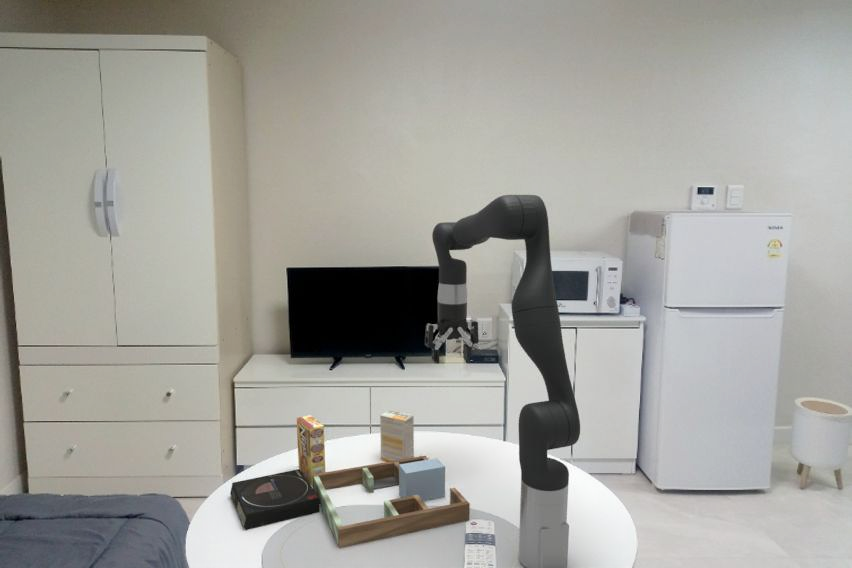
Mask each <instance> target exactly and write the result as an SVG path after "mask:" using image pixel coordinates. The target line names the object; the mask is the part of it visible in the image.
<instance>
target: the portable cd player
mask: <svg viewBox="0 0 852 568" xmlns="http://www.w3.org/2000/svg"><path fill="white" fill-rule="evenodd" d="M229 493H230V497H231V499H232V501H233V504H234V506H235V508H236V512H237V514H238V516H239V518H240V521H241V523H242V525H243V528H244V529H245V530H246V531H247V530H253V529H256V528H259V527H265V526H268V525H272V524H277V523H281V522H285V521H289V520H294V519H298V518H302V517H305V516H310V515H314V514H318V513H320V511H321V509H320V508H321V506H320V502H319V497H318V495H317V494H316V492H315V491H314V489H313V486H311V485H310V484H309V482H308V481H307V479H306V478H305V476H304V475H303V473H302V472H301V471H300V469H299V468H298V469H293V470H287V471H283V472H279V473H274V474H269V475H264V476H261V477H260V476H258V477H254V478H249V479H245V480H244V479H243V480H240V481H234V482H232V483H231V489H230V492H229Z"/></svg>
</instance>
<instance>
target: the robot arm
mask: <svg viewBox="0 0 852 568" xmlns="http://www.w3.org/2000/svg"><path fill="white" fill-rule="evenodd" d="M431 235H432V242H433V247H434V249H435V253H436V257H437V258H436V259H437V263H438V289H437V299H436V300H437V322H436V323H435V324H434V323H433V324H432V323H429V322H427V323H426V325H425V330H424V331H425V334H424V346H426V347H427V348H429V349H431V360H432V361H433V363H435V364H438V365H439V364H440V348H441V346H442V345H443V344H445V342H446V340H449V341H451V340H459V339H460V340H461V341H462V342H463V343H464V344H463V355H462V357H463V360H464V361H470V359H471V357H472V346H473V345H475V344H478V343H479V322H478V321H476V320H474V319H470V320H467V318H468V287H467V272H468V271H467V270H468V269H467V268H468V267H467V263H466V261H464V260H462V259H458V258H453V257H452V255H451V252H450V251H464V250H470V249H472V248H473V247H474V246H477V245H481V244H483V243H486V242H487V241H488V240H489V239H490V238H491V239H492V238H493V239H501V240H507V241H519V240H521V241H522V240H524V244H525V255H526V256H525V258H526V259H525V264H524V265H525V266H524V268H523V272H522V274H521V278H520V279H519V281H518V284H517V287H516V289H515V291H514V294H513V296H512V301H511V313H512V314H511V315H512V321H513V322H512V323H513V329H514V334H515V337H516V339H517V342H518V344H519V346H520V347H521V348H522V350H523V351H524V352H525V354H526V355H527V357H529V359H530V360H531V361H532V363H533V364H534V365H535V366H536V368H537V369H538V371H539V372H540V375H541V376H542V378H543V382H544V384H545V388H546V392H547V398H548V400H544V401H537V402H530V403H527V404H525V405H523V406H522V407H521V410H520V413H519V417H518V459H519V466H520V476H521V477H520V481H521V482H520V498H519V499H520V504H519V527H518V528H519V532H518V533H519V535H518V561H519V563H520V564H521V565H522V566H523V567H525V568H568V557H569V535H570V525H569V523H568V522H567V521H568V499H569V498H568V497H569V484H570V483H569V480H570V479H569V477H570V473H569V469H568V466H566V464H564V463H563V462H561V461H559V460H557V459H555V458H552V457H549V456H548V451H549V450H556V449H560V448H561V449H562V448H566V447H570V446H574V445H575V444H577V443H578V441H579V438H580V435H581V421H580V414H579V410H578V405H577V402H576V398H575V394H574V390H573V385H572V382H571V378H570V374H569V373H570V372H569V369H568V364H567V359H566V352H565V347H564V342H563V341H564V340H563V332H562V324H561V318H560V312H559V306H558V301H557V296H556V295H557V294H556V288H555V283H554V276H553V275H554V274H553V267H552V257H551V247H550V246H551V244H550V243H551V242H550V228H549V217H548V211H547V207H546V204H545V202H544V200H543V199H542V198H541V197H540V196H539V195H535V194H505V195H501V196H498V197H496V198H495V199H493V200H491V201H490V202H489V203H487V205H485V207H483V208H481V209H480V210H479V211H477V213H474V214H471V215H468V216H464V217H461V219H459V220H457V221H456V222H455V221H451V222H438V223H437V224H436V225H435V226H434V228H433V231H432V234H431ZM467 328H468V329H469V332H470V333H469V335H470V336H468V334H467V333H466V330H467ZM436 330H437V331H438V333H437V334H436V335H435V337H434V333H435V332H436ZM469 337H470V338H469Z"/></svg>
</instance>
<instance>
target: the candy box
mask: <svg viewBox="0 0 852 568" xmlns="http://www.w3.org/2000/svg"><path fill="white" fill-rule="evenodd" d="M296 431H297V432H296V433H297V434H296V435H297V457H298V469H300V471H301V472H302V473H303V475H304V476H305V478H306V479H307V481H308V482H309V484H310V485H311V486H312V487H313V474H319V473H325V472H326V453H325V452H326V450H325V425H324V424H323V423H321V422H319V421H318V420H317V419H316V418H315V417H314V416H313V415H309V414H308V415H306V416H305V415H304V416H301V417H297V418H296Z"/></svg>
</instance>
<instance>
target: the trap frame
mask: <svg viewBox="0 0 852 568" xmlns="http://www.w3.org/2000/svg"><path fill="white" fill-rule="evenodd" d="M429 459H430V458H428V457H427V455H421V456H414V458H408V459H402V460H396V461H390V462H388V461H384V462H379V463H373V464H367V465H362V466H355V467H349V468H343V469H338V470H332V471H327V472H326V471H325V473H319V474H313V486H312V488H313V489H314V491H315V492H316V494H317V495H318V497H319V502H320V508H321V509H320V510H322V513H323V515H324V516H325V520H326V521H327V524H328V526H329V529H330V530H331V533H332V534H333V536H334V539H335V541H336V543H337V546H338V548H339V549H340V548H344V547H345V548H346V547H349V546H353V545H359V544H364V543H368V542H373V541H378V540H382V539H383V540H384V539H386V538H387V539H388V538H390V537H397V536H401V535H405V534H410V533H415V532H419V531H424V530H428V529H433V528H438V527H443V526H447V525H451V524H456V523H462V522H467V521H469V520H470V510H471V508H470V507H471V505H470V502H469V501H468V500H467V499H466V498H465V496H463V495H462V493H461V492H459V490H458V489H457V488H456V487H451V488H450V489H449V490H450V491H449V504H445V505H440V506H435V507H431V508H429V507H428V506H427V504H426V503H425V501H424V502H423V500H422V499H421V498H420V497H419V495H413V496H408V497H402V498H401V497H397V498H393V499H388V500H384V501H383V517H381V518H376V519H375V518H374V519H372V520H367V521H361V522H356V523H351V524H345V525H343V523H342V521H341V519H340V517H339V516H340V515H339V514H338V512H337V510H336V508H335V506H334V503H333V502H332V500H331V498H330V496H329V494H328V492H327V491H326V490H332V489H337V488H343V487H348V486H354V485H360V484H363V486H364V488H365V489H366V491H367V493H368V494H372V493H374V492H375V490H380V489H385V488H392V487H395V486H396V487H397V486H399V465H400V464H405V463H411V462H417V461H423V460H429ZM466 520H467V521H466Z"/></svg>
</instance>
